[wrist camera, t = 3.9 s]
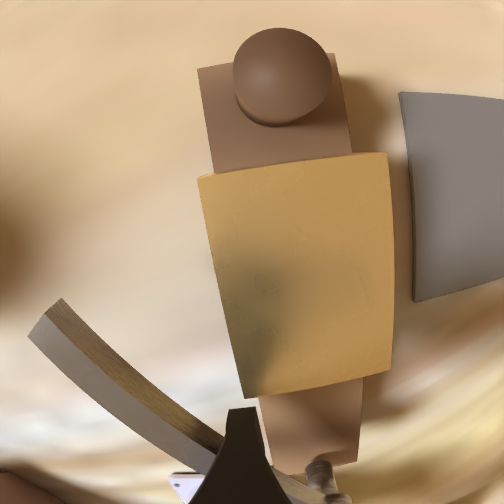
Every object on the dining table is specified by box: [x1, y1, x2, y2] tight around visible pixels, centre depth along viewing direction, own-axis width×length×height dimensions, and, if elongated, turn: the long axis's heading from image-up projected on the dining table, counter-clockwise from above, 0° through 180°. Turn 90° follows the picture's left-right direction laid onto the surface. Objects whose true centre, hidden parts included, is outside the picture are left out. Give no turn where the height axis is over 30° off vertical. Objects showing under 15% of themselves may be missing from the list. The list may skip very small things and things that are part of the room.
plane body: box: [197, 28, 363, 475], centre depth 12 cm, size 19×4×6 cm, turn 9°
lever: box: [27, 298, 353, 504], centre depth 10 cm, size 15×2×4 cm, turn 41°
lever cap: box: [197, 152, 395, 399], centre depth 10 cm, size 7×5×2 cm
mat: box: [398, 92, 504, 303], centre depth 13 cm, size 10×8×1 cm
